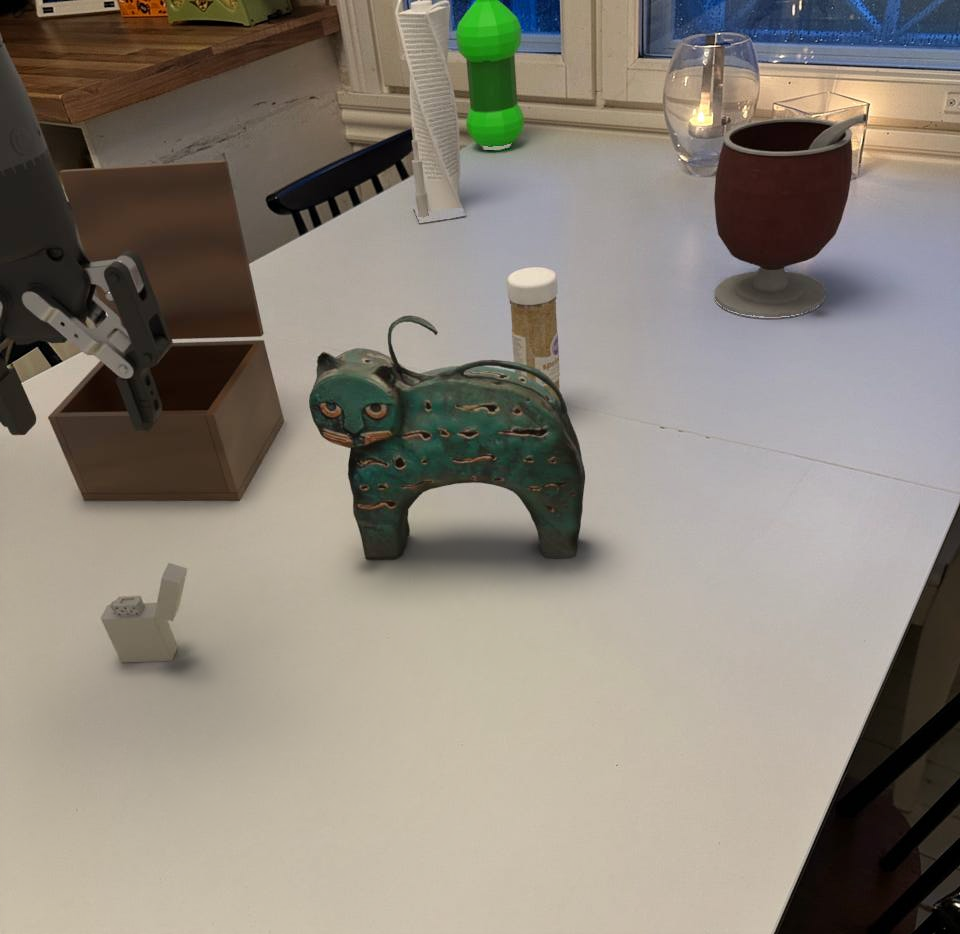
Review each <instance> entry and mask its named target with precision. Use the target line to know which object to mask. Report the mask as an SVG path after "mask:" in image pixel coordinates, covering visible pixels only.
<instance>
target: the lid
mask: <svg viewBox="0 0 960 934" xmlns="http://www.w3.org/2000/svg"><path fill="white" fill-rule="evenodd" d="M228 165H229V164H228V161H227V159H220V160H218V159H217V160H203V161H189V162H172V163H154V164H138V165H121V166H107V167H106V166H105V167H91V168H90V167H89V168H88V167H87V168H74V169H73V168H71V169H62V170H60V171H59V175H60V178H61V181H62V185H63V188H64V192H65V196H66V199H67V201H68V204H69V207H70V210H71V212H72V215H73V218H74V221H75V227H76V231H77V232H78V233H77V234H78V236H79V240H80V243H81V246H82V250H83V252H84V253H85V254H86V255H87V257H88V258H89V259H90V260H91V261H92V262H97V261H105V260H113V259H117V258H118V257H119V256H120V255H121V254H122V253H124V252H125V251H133V252H135V253H136V254H138V255H139V257H140V258H141V260H142V263H143V266H144V268H145V271H146V273H147V276H148V279H149V281H150V284H151V286H152V289H153V292H154V294H155V297H156V299H157V302H158V304H159V307H160V310H161V312H162V315H163V317H164V320H165V323H166V325H167V328H168V330H169V333H170V335H171V338H172V340H193V339H196V340H197V339H223V338H256V337H257V338H258V337H259V338H261V337H263V336H264V335H265V334H264V328H263V323H262V318H261V314H260V309H259V305H258V300H257V296H256V291H255V286H254V282H253V276H252V272H251V267H250V262H249V258H248V254H247V249H246V245H245V239H244V236H243V231H242V226H241V220H240V217H239V212H238V206H237V202H236V198H235V193H234V189H233V183H232V180H231V175H230V170H229V166H228ZM95 292H96V294H97V298H99V299H100V300H101V301H102V302H103V303H104V304H105V305H106V306H108V307H109V308H110V309H111V310H112V311H113V312H114V313H115V314H117V315H118V316H119V318H120V320H121V324H122V326H123V327H124V328H125V326H124V323H123V321H122V319H121V316H120V314H119V311H118V309H117V307H116V304H115V302H114V301H113V300H112V301H109V300H107V299H106V297H105V292H104V290H103V289H102V288H101V287H99V286H97V285H96V288H95ZM125 329H126V328H125Z"/></svg>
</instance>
